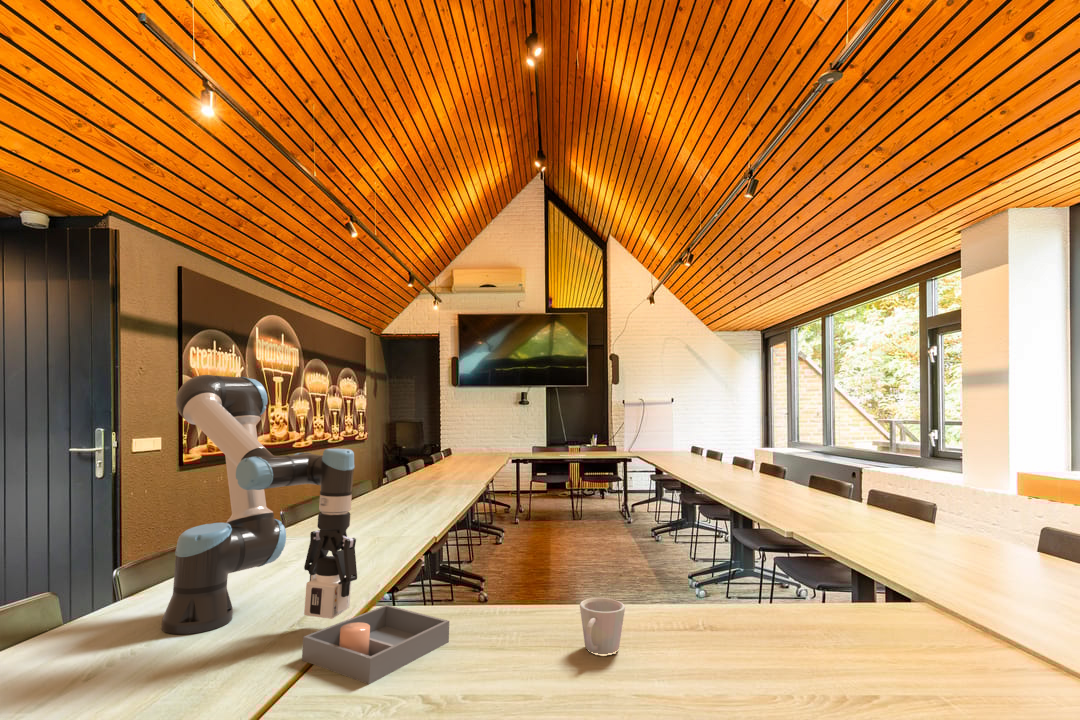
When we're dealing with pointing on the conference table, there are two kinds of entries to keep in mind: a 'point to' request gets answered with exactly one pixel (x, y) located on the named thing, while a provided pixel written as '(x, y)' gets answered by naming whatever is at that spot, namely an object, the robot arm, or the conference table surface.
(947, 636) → the conference table surface
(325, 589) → the container
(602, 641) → the mug
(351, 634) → the peach cylinder
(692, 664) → the conference table surface
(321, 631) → the tray
